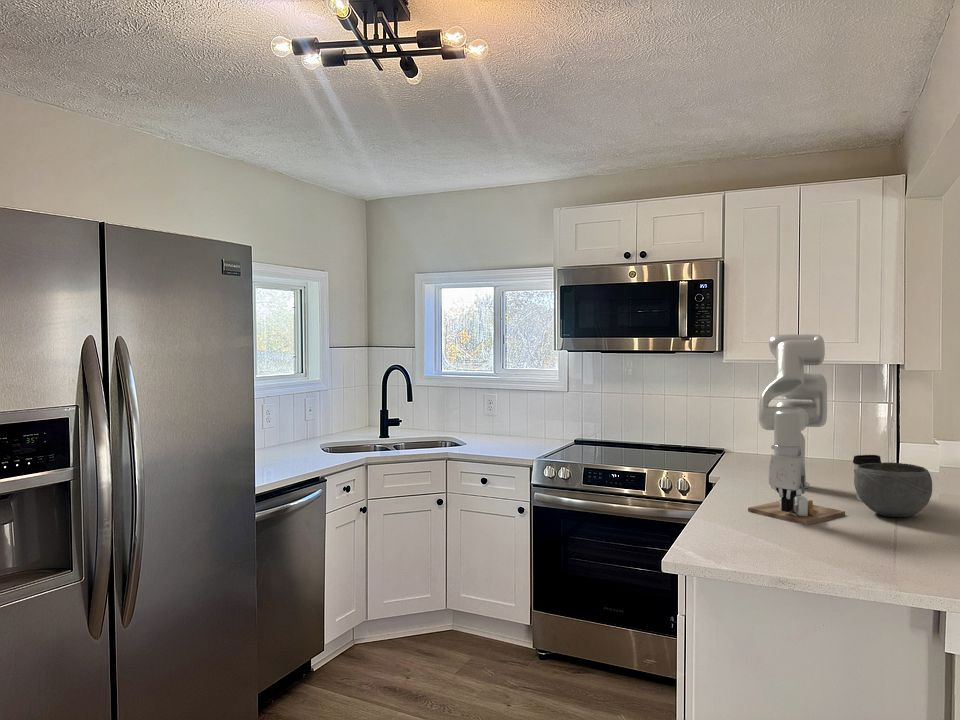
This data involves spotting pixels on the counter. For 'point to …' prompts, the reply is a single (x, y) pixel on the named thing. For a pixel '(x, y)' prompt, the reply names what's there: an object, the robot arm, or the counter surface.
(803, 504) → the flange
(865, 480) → the bowl
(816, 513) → the post base
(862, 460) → the coffee cup
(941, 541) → the counter surface
